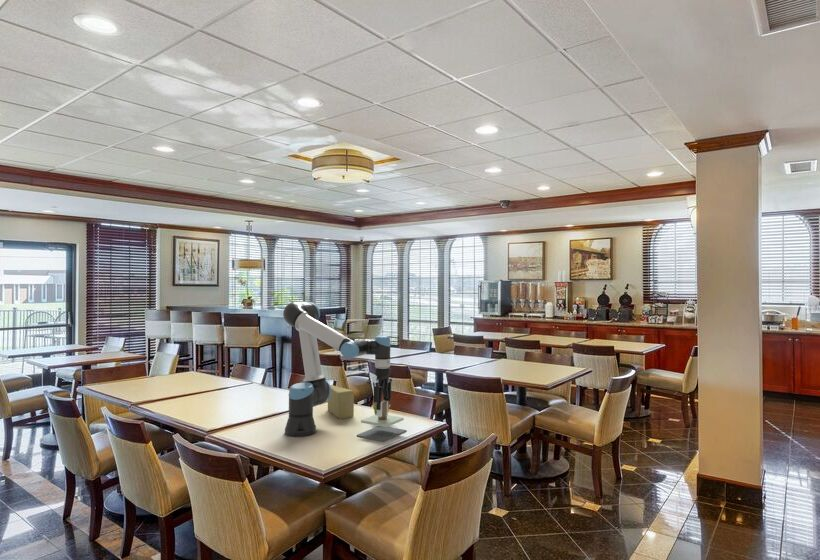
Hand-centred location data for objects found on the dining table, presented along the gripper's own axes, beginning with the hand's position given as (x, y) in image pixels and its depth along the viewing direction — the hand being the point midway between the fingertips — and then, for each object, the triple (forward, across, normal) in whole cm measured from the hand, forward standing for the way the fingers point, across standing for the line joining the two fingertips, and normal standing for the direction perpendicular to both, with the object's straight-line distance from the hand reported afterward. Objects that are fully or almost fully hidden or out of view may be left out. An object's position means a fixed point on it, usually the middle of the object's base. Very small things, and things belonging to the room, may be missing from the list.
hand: (382, 415), depth 232 cm
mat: (+9, 0, 0) cm, 9 cm away
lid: (+3, 0, 0) cm, 3 cm away
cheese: (+9, +17, +43) cm, 48 cm away
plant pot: (+9, +18, +13) cm, 24 cm away
